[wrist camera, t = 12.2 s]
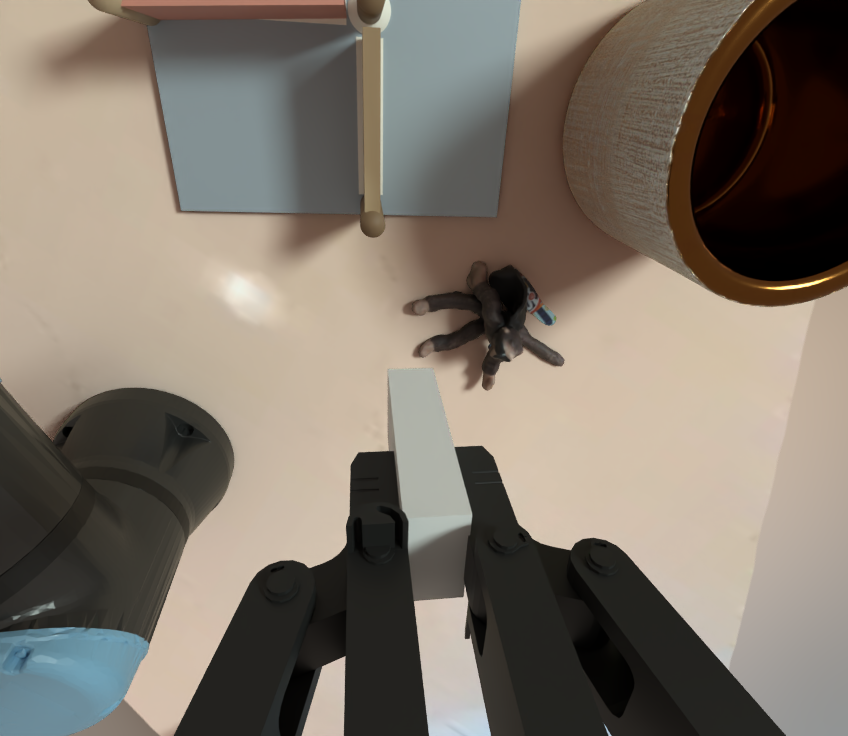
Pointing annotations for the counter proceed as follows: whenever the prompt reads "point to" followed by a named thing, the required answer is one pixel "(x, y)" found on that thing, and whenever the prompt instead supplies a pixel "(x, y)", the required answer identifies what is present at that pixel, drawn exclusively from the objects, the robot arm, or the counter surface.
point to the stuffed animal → (492, 318)
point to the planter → (721, 143)
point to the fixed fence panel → (371, 117)
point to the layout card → (339, 109)
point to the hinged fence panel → (220, 9)
